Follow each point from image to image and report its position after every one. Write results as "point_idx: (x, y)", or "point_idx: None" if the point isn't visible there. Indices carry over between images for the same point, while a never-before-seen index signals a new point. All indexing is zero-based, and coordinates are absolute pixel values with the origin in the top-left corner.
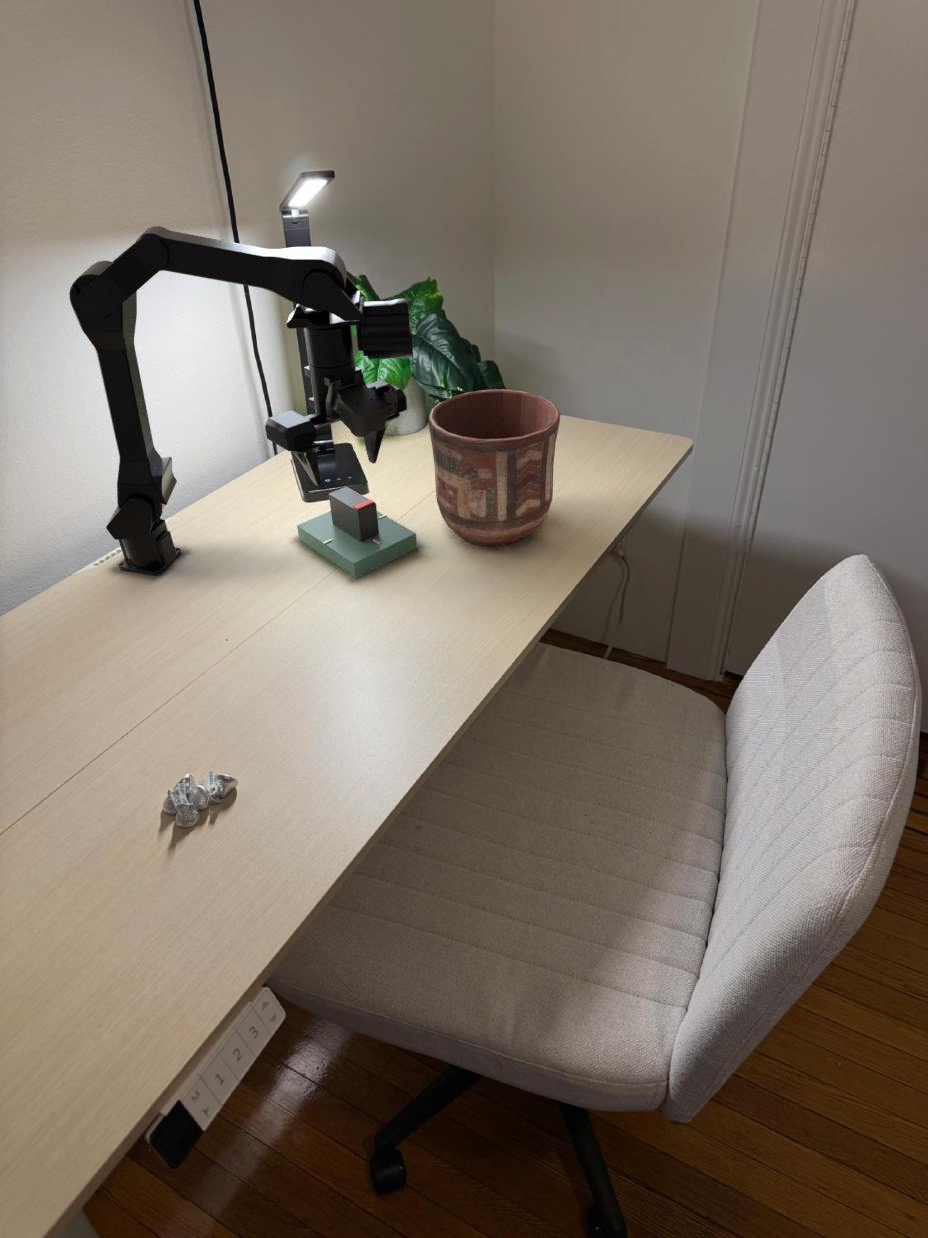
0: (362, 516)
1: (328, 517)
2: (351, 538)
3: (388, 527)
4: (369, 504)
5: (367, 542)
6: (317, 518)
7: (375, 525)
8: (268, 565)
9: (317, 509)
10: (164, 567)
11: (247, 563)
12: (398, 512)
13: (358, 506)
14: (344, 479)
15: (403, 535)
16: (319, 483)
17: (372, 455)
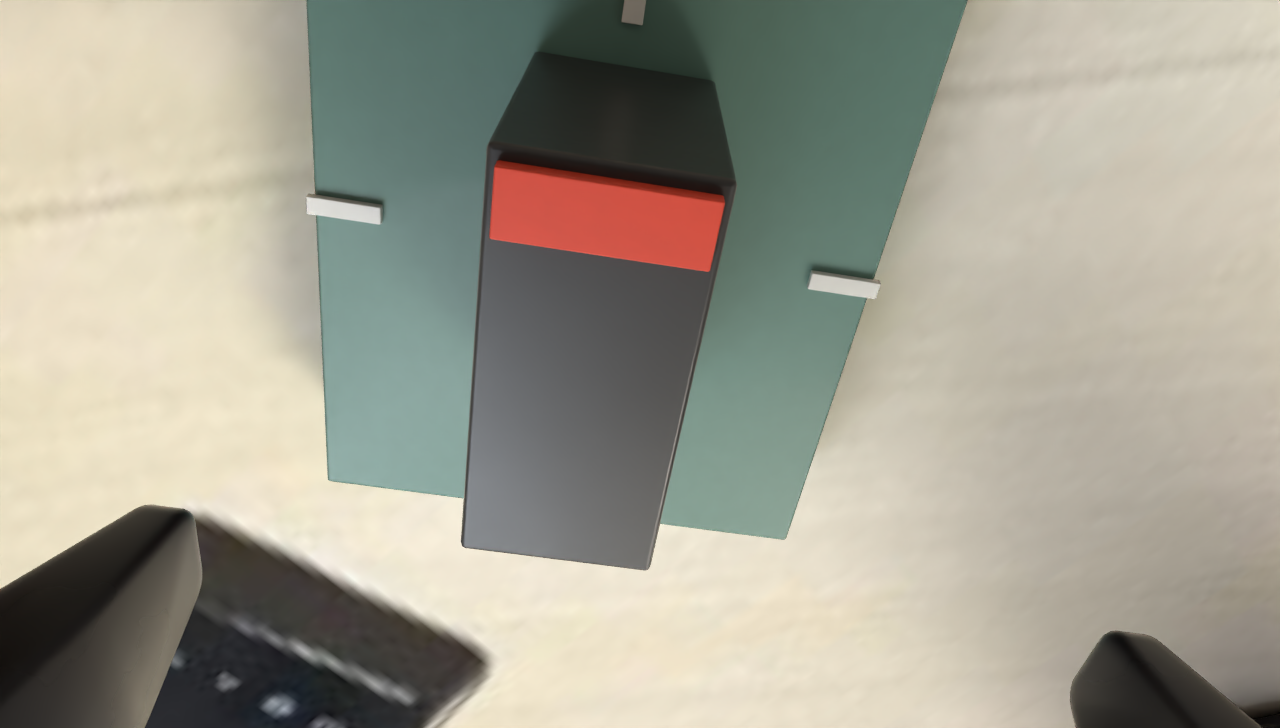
0: (681, 146)
1: None
2: None
3: (412, 61)
4: (566, 171)
5: (686, 39)
6: None
7: (554, 78)
8: (1060, 430)
9: (494, 588)
10: (1271, 718)
11: (1086, 514)
12: (156, 250)
13: (681, 227)
14: (206, 665)
15: None
16: (1148, 652)
17: (126, 616)
